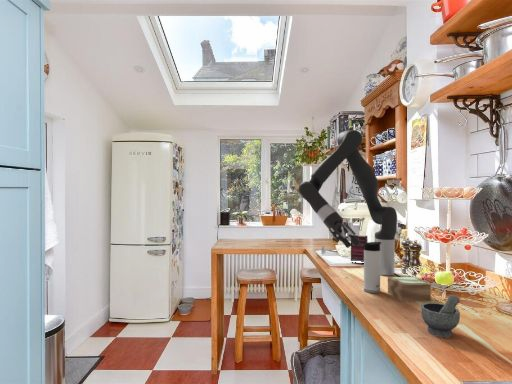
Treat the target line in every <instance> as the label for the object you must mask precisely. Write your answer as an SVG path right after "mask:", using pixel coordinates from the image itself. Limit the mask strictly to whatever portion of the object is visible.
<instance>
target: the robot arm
mask: <svg viewBox="0 0 512 384" xmlns="http://www.w3.org/2000/svg"><path fill="white" fill-rule="evenodd" d="M336 141H337V146H338V147H337V148H336V149H335V150H334V152H332V153H331V154H330V155H329V156H327V157H326V158H325V159H324V160H323V161H322V162H321V163H320V164H319V165H318V166H316V168H315V170H314V171H313V172H312V173H311V175H310V179H309V181H306V180H304V181H302V182H301V183H300V184H299V186H298V192H299V194H300V196H301V197H302V199H304V200H305V201H306V202H307V203H308V204H309V205H310V207H311V209H312V210H313V211H314V212H315V213H316V215H317V216H318V218H319V220H321V222H322V223H323V224H324V225H325V226H326V227H327V229H328V231H329V232H330V233H331V235H332V236H333V237H334V239H335V240H336V241H340V242H341V243H342V244H343V245H344V246H345V247H346V248H347V249H349V248H351V241H352V242H353V243H354V244H355V245H356V246H357V245H359V244H360V242H359V240H358V239H357V238H356V237H355V235H357V234H356V232H355V231H354V230H353V229H352V228H351V227H350V225H348V224H347V223H346V224H343V221H344V218H343V217H342V216H341V215H340V214H339V213H338V212H337V210H336V209H335V208H334V207H333V206H331V204H330V203H329V202H328V201H327V200H326V199H325V198H324V197H323V195H321V193H320V192H319V191H320V190H321V189H322V186H323V185H324V184H325V182H326V181H327V180H329V179H328V178H329V177H331V175H332V174H333V172H334V171H335V170H337V168H338V167H339V166H340V165H341V164H342V163H343V162H344V161H347V163H348V165H349V167H350V170H351V172H352V174H353V177H354V179H355V182H356V184H357V186H358V188H359V190H360V191H361V194H362V195H363V198H364V200H365V203H366V206H367V209H368V212H369V215H370V218H371V220H372V222H373V223H375V224H376V225H381V226H380V227H381V228H380V230H379V231H376V232H375V233H374V242H381V244H380V276H394V275H395V274H396V273H395V269H396V268H395V267H396V266H395V252H396V251H395V249H396V248H395V245H396V244H395V243H396V242H395V241H396V238H395V236H396V235H397V227H398V214H397V211H396V209H395V207H392V206H384V205H382V204H381V202H380V200H379V197H378V190H379V180H378V178H377V176H376V174H375V171H374V169H373V167H372V166H371V165H370V164H369V163H368V162H367V160H366V159H364V157H362V155H361V153H360V151H359V147H360V146H361V145H362V143H363V136H362V134H361V132H360V131H359V130H357V129H356V130H355V129H350V130H349V129H348V130H343V131H341V132H340V133H339V134H338V136H337V139H336ZM348 239H349V240H350V241H349V240H348ZM394 273H395V274H394Z"/></svg>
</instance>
